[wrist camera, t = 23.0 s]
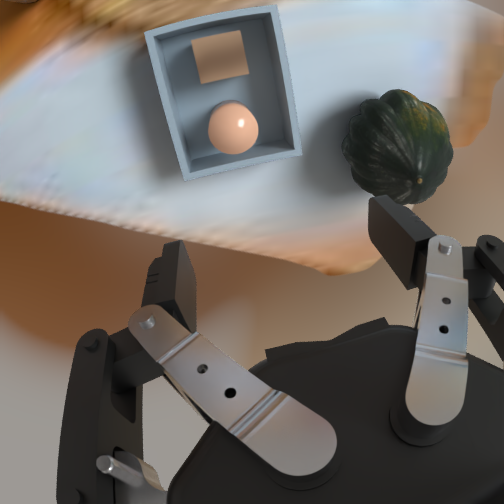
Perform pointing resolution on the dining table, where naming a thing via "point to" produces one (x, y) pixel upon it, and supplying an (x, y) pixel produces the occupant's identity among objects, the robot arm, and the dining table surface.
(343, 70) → the dining table surface
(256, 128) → the terracotta cylinder
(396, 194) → the squash
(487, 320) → the robot arm
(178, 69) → the tote
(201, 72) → the walnut cube
